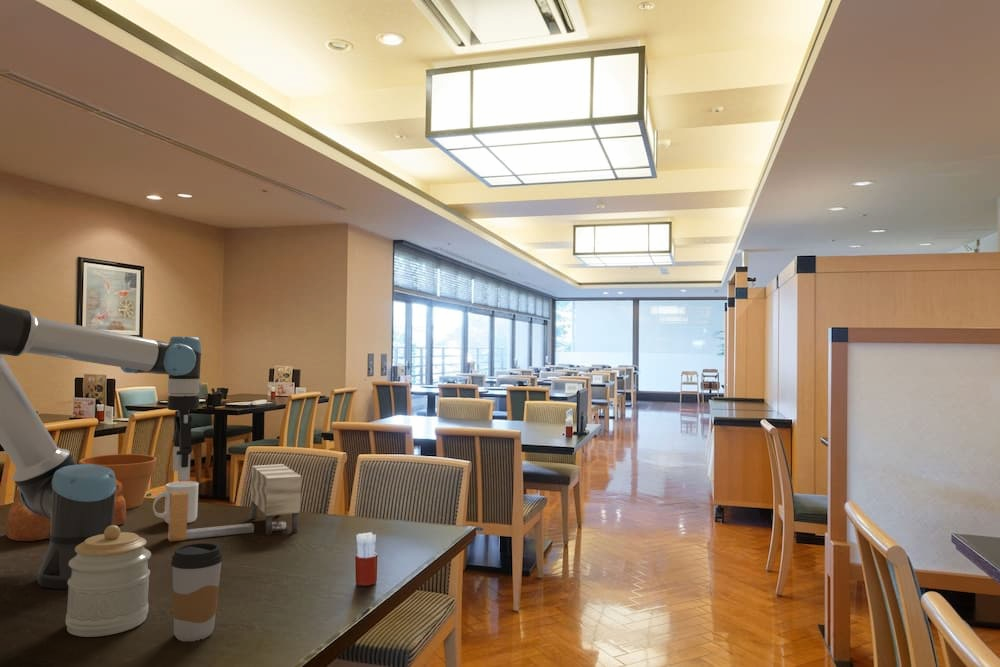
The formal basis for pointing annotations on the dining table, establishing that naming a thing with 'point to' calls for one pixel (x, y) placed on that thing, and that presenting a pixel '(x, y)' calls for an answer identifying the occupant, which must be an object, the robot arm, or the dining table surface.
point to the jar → (108, 584)
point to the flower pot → (128, 473)
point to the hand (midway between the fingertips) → (180, 475)
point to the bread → (38, 527)
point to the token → (278, 525)
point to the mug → (177, 487)
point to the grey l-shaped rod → (180, 531)
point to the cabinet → (275, 493)
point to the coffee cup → (195, 589)
